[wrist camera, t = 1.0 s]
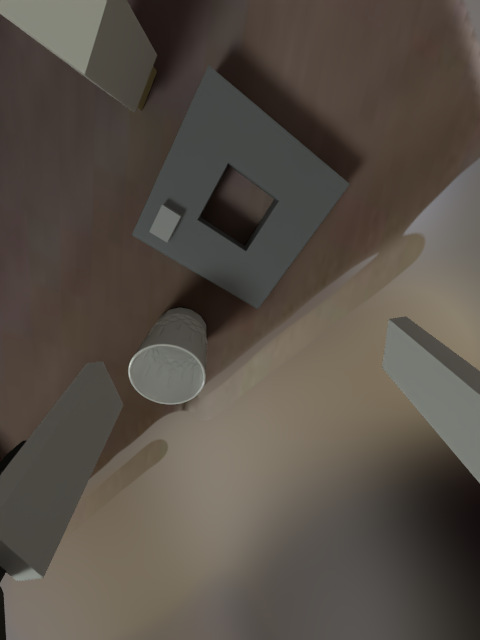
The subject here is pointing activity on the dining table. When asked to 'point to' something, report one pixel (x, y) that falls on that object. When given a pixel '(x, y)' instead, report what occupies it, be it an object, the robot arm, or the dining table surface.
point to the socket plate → (254, 164)
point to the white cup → (171, 358)
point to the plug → (92, 42)
